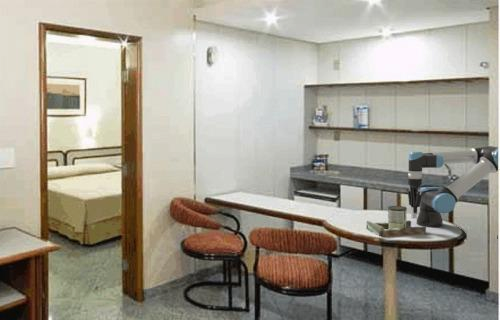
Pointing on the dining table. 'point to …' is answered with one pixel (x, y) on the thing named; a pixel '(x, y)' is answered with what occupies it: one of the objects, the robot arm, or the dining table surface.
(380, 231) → the shallow brown tray
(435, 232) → the dining table surface
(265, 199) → the dining table surface
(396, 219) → the coffee can
